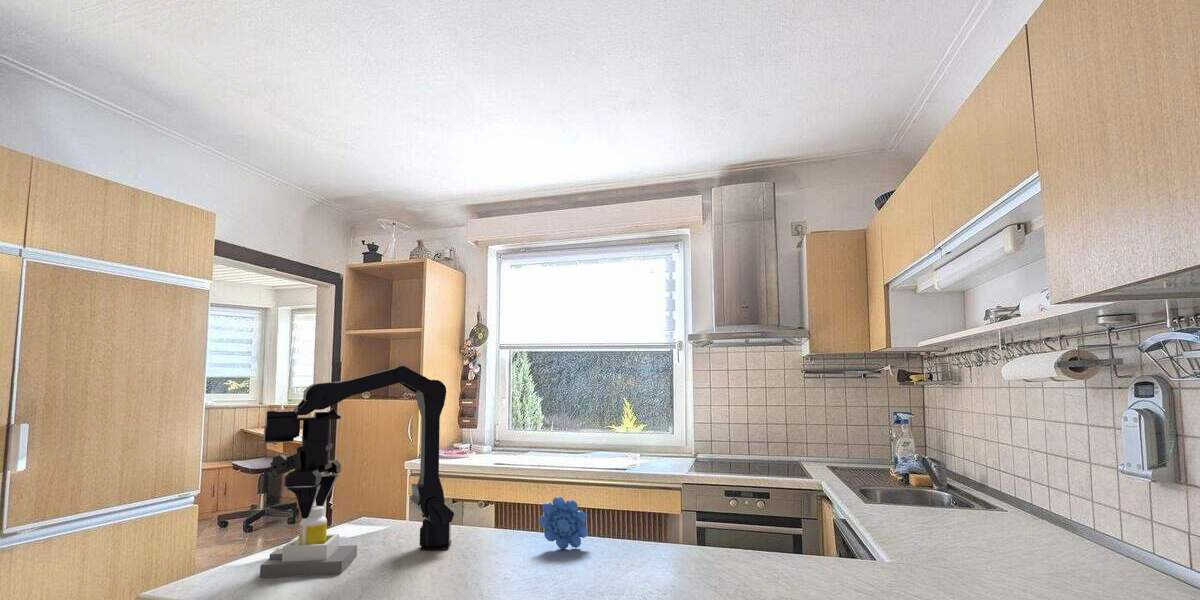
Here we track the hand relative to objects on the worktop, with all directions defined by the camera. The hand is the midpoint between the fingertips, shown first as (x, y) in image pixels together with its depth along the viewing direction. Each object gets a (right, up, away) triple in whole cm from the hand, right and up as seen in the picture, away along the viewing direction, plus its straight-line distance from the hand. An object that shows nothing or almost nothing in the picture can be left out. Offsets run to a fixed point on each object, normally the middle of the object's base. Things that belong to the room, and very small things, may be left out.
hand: (312, 513), depth 132 cm
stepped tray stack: (0, -11, -1) cm, 11 cm away
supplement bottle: (0, -9, -1) cm, 9 cm away
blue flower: (+54, -12, +9) cm, 56 cm away
